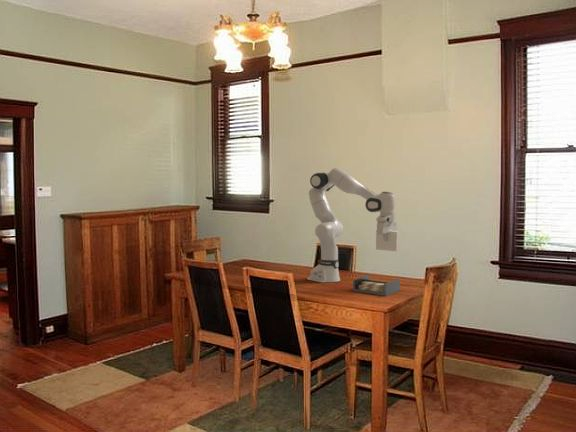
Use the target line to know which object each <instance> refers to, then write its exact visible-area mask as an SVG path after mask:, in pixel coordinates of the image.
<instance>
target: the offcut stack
mask: <svg viewBox="0 0 576 432" xmlns="http://www.w3.org/2000/svg"><path fill="white" fill-rule="evenodd" d="M359 289H363V290H370V291H377V292H384V284H383V283H376V282H369V281H365V282H361V285H359Z"/></svg>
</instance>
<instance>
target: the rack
mask: <svg viewBox="0 0 576 432" xmlns="http://www.w3.org/2000/svg"><path fill="white" fill-rule="evenodd" d="M370 277H371V276H370V275H369V274H367V275H364V276H360V277H357V278H354V279H353V280H352V291H353V292H357V293H363V294H370V295H377V296H383V297H388V296H390V295H393V294H394V293H398V292H400V291H401V279H400V278H398V279H397V278H396V279H395V280H391V281H389V282H388V281H381V280H375V279H373V280H372V279H370ZM365 281H369V282H376V283H383V284H384V292H377V291H370V290H363V289H359V285H361V282H365Z"/></svg>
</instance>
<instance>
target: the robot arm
mask: <svg viewBox="0 0 576 432" xmlns="http://www.w3.org/2000/svg"><path fill="white" fill-rule="evenodd" d="M309 183H310V185H311V186H312V188H310V189H309V191H308V196H309V197H308V198H309V202H310V205H311V207H312V210H313V213H314V216H315V217H316V218H317V219H318V220H319V221H320V223H319V224H318V225H317V226H315V229H314V230H315V231H314V234H315V236H316V237H317V238H318V242H319V246H320V259H318V260H317V263H318V264H317V265H316V266H315V267H313V269H311V271H310V276H308V277H306V279H307V280H309V281H313V282H316V283H317V282H318V283H336V282H340V281H341V278H340V273H339V266H340V265H339V262H340V261H339V249H338V248H339V247H338V245H336V244H337V243H336V241H335V238H338V237H340V236H341V235H342V234H343V232H344V226H343V224H342V223H341V221H339V220H338V219H337V217H336V215H335V214H334V212H333V211H332V209H331V205H330V204H329V200H328V198H327V196H326V192H329V191H330V190H331V189H333V187H336V188H338V189H339V190H340V191H341V192H344V193H346V194H350V195H351V194H352V195H358V196H360V197H362V198H363V199H364V200H365V208H366V210H367V211H368V212H369V213H380V214H379V215H378V216H377V217H376V222H377V223H376V230H377V233H378V234H383V237H384V241H387V236H386V235H387V233H389V231H398V225H397V224H398V222H397V220H396V217H395V215H396V212H395V207H396V201H395V199H396V198H395V195H394V193H393V192H389V191H381V192H380V193H378V194H376V193H375V192H373V191H371V190H370V189H369V188H367V187H366V186H365V185H363V184H362V183H360V182H359V181H358V180H356V179H355V177H353V176H352V175H351V174H349V173H348V172H347V171H345V170H343V169H341V168H339V167H333V168H332V169H331V170H330V171H329V172H325V171H322V172H316V173H314V174H313V175H311V177H310V179H309Z"/></svg>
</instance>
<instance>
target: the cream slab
mask: <svg viewBox="0 0 576 432" xmlns="http://www.w3.org/2000/svg"><path fill="white" fill-rule="evenodd" d="M386 236H387V241H384V237H383V234H378V233H377V229H376V230H375V250H378V251H389V252H399V251H400V249H399V247H400V240H399V239H400V231H399V230H397V231H389V233H387V235H386Z"/></svg>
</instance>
